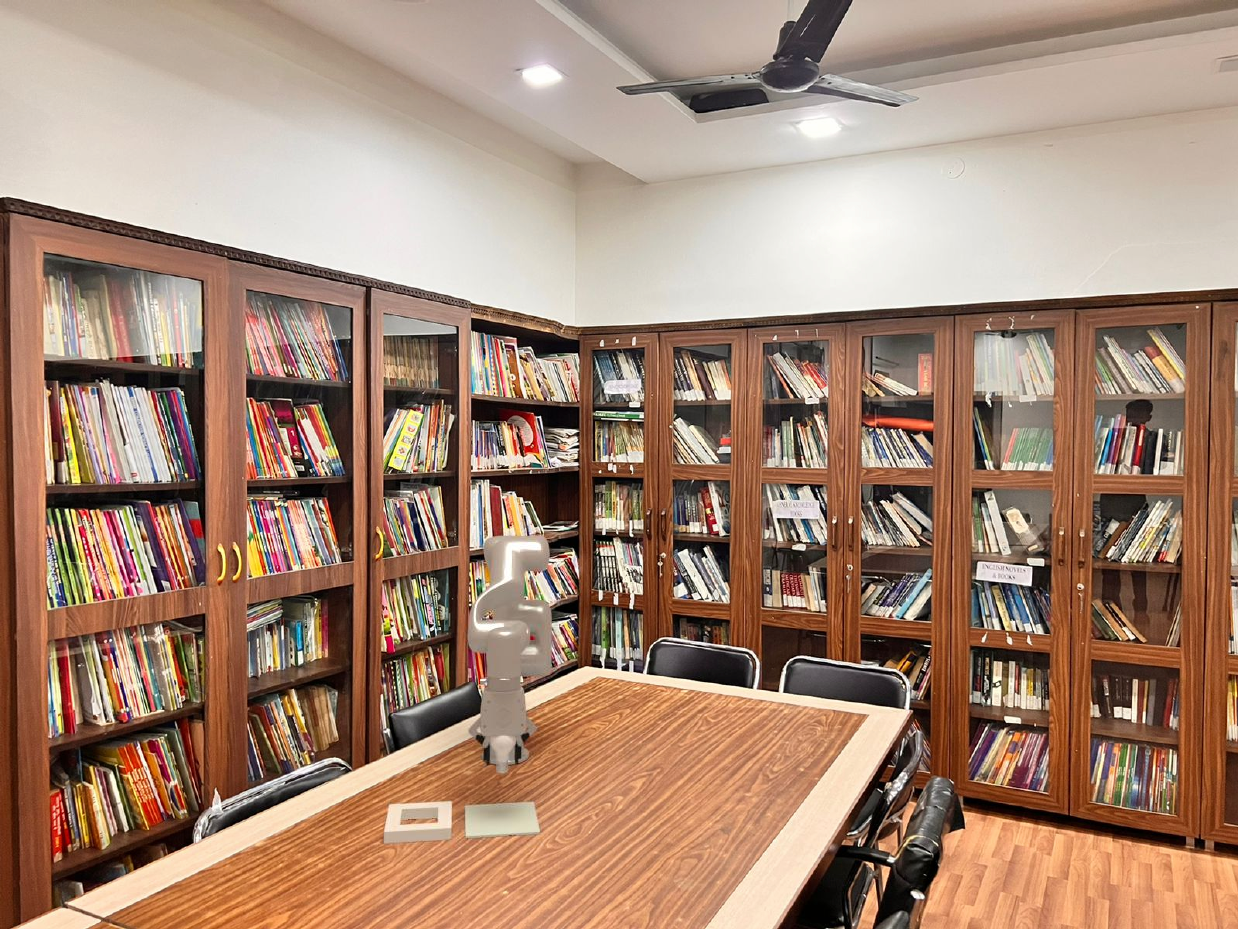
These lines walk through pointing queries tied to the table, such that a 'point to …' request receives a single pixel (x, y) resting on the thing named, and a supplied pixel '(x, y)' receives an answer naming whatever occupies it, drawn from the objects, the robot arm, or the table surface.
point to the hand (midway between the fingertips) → (502, 762)
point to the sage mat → (500, 820)
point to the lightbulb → (502, 751)
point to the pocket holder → (418, 831)
